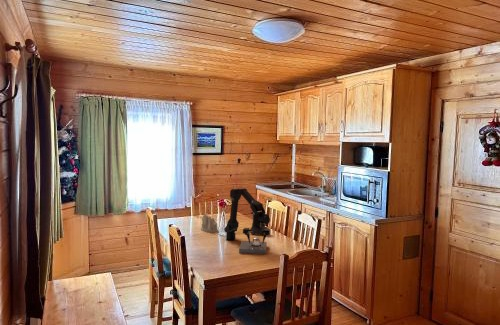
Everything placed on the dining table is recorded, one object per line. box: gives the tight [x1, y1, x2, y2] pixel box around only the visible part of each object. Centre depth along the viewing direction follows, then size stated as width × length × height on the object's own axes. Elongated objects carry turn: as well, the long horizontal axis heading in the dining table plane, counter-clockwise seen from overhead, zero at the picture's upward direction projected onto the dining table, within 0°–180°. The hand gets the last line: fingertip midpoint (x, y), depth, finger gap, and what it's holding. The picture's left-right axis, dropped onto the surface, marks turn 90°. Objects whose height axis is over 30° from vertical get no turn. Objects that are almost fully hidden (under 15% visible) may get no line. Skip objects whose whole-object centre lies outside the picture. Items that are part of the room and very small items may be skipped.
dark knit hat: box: [250, 222, 269, 236], centre depth 284 cm, size 10×15×15 cm
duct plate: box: [238, 240, 268, 255], centre depth 243 cm, size 18×18×3 cm
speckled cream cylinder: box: [252, 237, 261, 247], centre depth 242 cm, size 5×5×8 cm
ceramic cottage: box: [200, 212, 219, 233], centre depth 292 cm, size 16×16×15 cm
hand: (256, 243), depth 242 cm, fingers open, 9 cm apart
